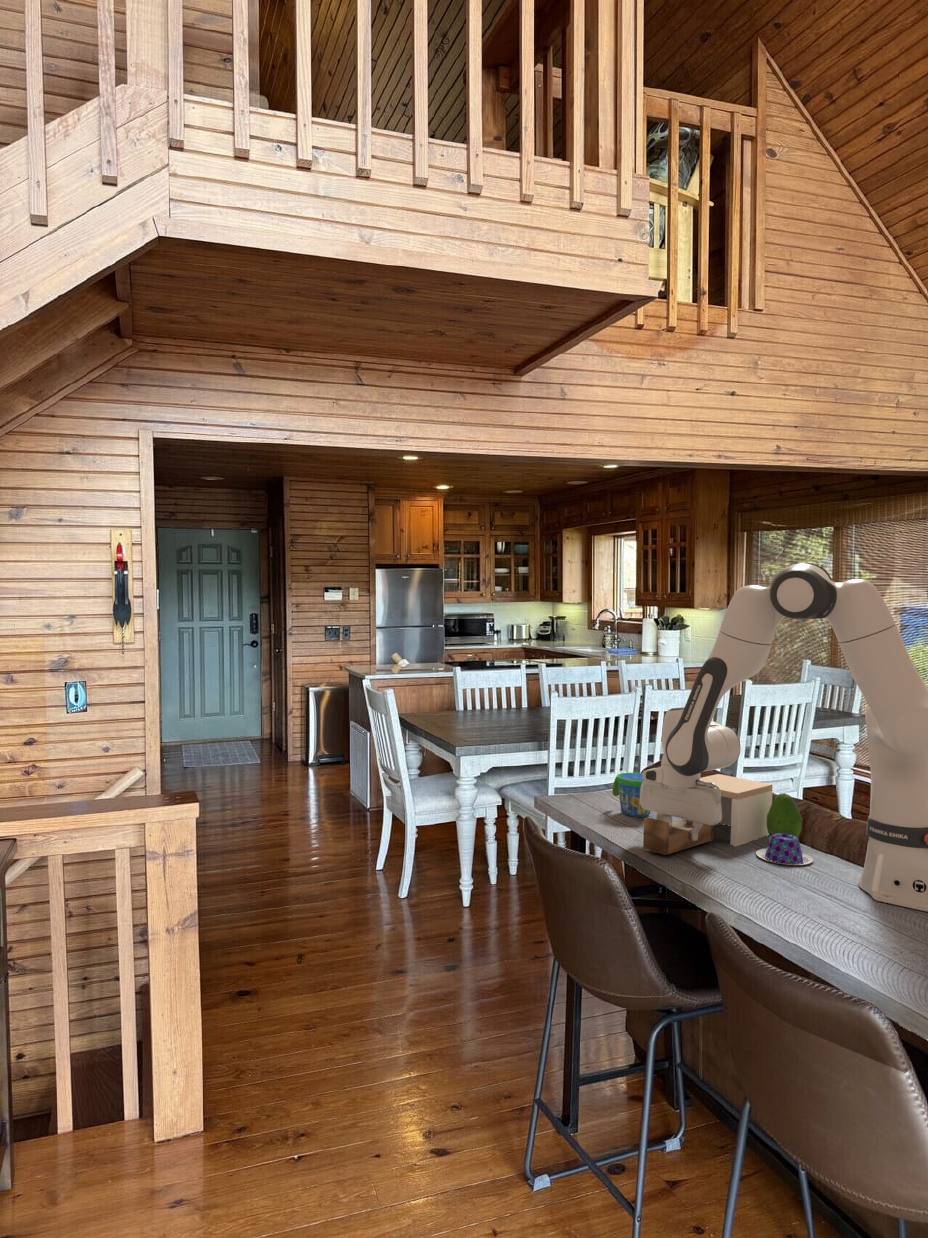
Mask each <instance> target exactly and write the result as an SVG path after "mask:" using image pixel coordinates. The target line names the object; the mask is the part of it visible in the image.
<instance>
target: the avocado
mask: <svg viewBox="0 0 928 1238" xmlns="http://www.w3.org/2000/svg"><path fill="white" fill-rule="evenodd" d="M766 825H767V830H768V833H769V836H770V837H771V836H772V835H773V834H779V833H782V834H790V835H792V836H796V837H797V838H798V837H799V836H800V834H801V831H802V829H803V818H802V815H801V812H800V809H799V807H798V806H797V803H796V802H795V799H794V798H793V797H792V796H791V795H789V794H787V793H785V792H784V793H779V794H777V795H775V797H774V798H773V799H772V805H771V807H770V810H769V812H768V814H767V822H766Z"/></svg>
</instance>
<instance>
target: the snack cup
mask: <svg viewBox="0 0 928 1238" xmlns="http://www.w3.org/2000/svg"><path fill="white" fill-rule="evenodd" d="M642 773H643V772H622V773H618V774H617V775H616V777H615V778H614V781H613V784H612V792H611V793H612V795H613V796H614V797H618V796H619V804H620V813H621V814H623V815H626V816H630V817H633V818H634V817H636V818H645V817H648V816H649V815H650V814H651V811H650V810H646V809H643V808H642V807H641V805H640V789H641V784H642V782H643V781H644V779H643V777H642Z"/></svg>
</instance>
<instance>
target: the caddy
mask: <svg viewBox="0 0 928 1238" xmlns="http://www.w3.org/2000/svg"><path fill="white" fill-rule="evenodd" d="M694 827H695V826H693V821H691V820H687V819H686V820H682V819H681V820H679V821H675V822H673V816H671V815H667V814H658V815H657V814H656V819H655V818H651V817H648V816H646V817H643V843H642V848H643V849H644V850H647V851H650V852H654V853H658V854H659V855H664V856H667V855H670V854H673V853H676V852H677V853H678V852H679V851H682V850H686V849H689V848H692V847H696V846H699V845H701V844H702V845H703V844H705V843H708V842H712V841H714V830H715V829H714V827H715V825H707V824H703V826H702V828H701V829H700V831H699V832H698V839H697V840H695V841H693V840H690V839H688V836H689V835H688V832H690V831H692V830H693V829H694Z"/></svg>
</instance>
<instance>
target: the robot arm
mask: <svg viewBox="0 0 928 1238" xmlns="http://www.w3.org/2000/svg"><path fill="white" fill-rule="evenodd" d="M785 618H787V619H791V620H798V621H802V620H803V621H804V620H818V619H819V620H823V619H826V620H827V621H828V623H829V624H830V626H831V628H832V630H833V632H834V634H835V637H836V639H837V640H836V641H837V642H838V645H839V647H840V650H841V652H842V655H843V657H844V660H845V663H846V664H847V667H848V670H849V671H850V673H851V677H852V679H853V681H854V682H855V684H856V685H857V687H858V689H859V690H860V693H861V695H862V696H863V698H864V699H865V702H866V704H867V707H866V710H865V714H864V715H865V716H864V719H865V724H866V737H867V750H868V751H867V752H868V761H869V769H870V804H869V815H868V816H867V823H866V829H865V831H866V835H865V836H866V843H867V849H866V854H865V855H866V856H865V861H864V865H863V869H862V871H861V872H862V873H861V876H860V879H859V881H858V887H859V888H860V889H862V890H863V891H864V892H867V893H868V894H869V895H870V896H871V897H872V899H873V900H875V901H878V902H881V903H882V902H883V903H886V904H887V903H888V904H891V905H895V906H900V907H905V908H909V909H914V910H919V911H923V912H927V913H928V688H927V686H926V684H925V682H924V681H923V678H922V677H921V675H920V674H919V672H918V671H917V669H916V667H915V665H914V663H913V661H912V659H911V658H910V654H909V653H908V650H907V647H906V646H905V643H904V640H903V637H902V636H901V633H900V631H899V629H898V626H897V624H896V622H895V619H894V617H893V615H892V613H891V610H890V609H889V607H888V605H887V603H886V601H885V600H884V598H883V596H882V595H881V593H880V592H879V591H878V589H877V587H876V586H875V585H874V584H873V583H872V582H870V581H869V580H866V579H861V578H860V579H859V578H858V579H855V578H853V579H848V580H846V581H842V582H841V581H840V582H835V581H833V579H832V577H831V575H830V574H829V572H828V571H827V570H826V569H825V568H823V567H822V566H820V565H818V564H815V563H810V562H803V563H801V562H800V563H794V564H792V565H789V566H787V567H786V568H783V569H782V570H781V571H780V572H779V573H778V574H776V575H775V577H774V578H773V580H772V582H771V584H770V586H761V585H757V584H749V585H744V586H742V587H739V588H737V590H736V591H735V592H734V594H733V595H732V597H731V599H730V601H729V604H728V606H727V609H726V610H725V612H724V615H723V619H722V621H721V625H720V628H719V630H718V631H719V632H718V634H717V637H716V641H715V642H714V645H713V648H712V649H711V651H710V653H709V656H708V657H707V659H706V660H705V662H704V663H703V665H702V667H701V668H700V670H699V672H698V674H697V676H696V678H695V680H694V682H693V685H692V687H691V690H690V693H689V695H688V698H687V701H686V702H685V705H684V706H681V707H673V708H670V709H668V710H667V711H666V712H665V714H664V718H663V721H662V731H661V746H662V750H663V751H662V752H663V753H662V756H661V762H660V763H661V764H660V766H656V767H653V768H649V769H645V770H643V771H642V772H641V773H642V777H643V779H644V781H643V782H642V784H641V789H640V805H641V807H642V808H643V809H646V810H650V812H654V813H656V816H657V815H658V814H667V815H671V816H672V817H674V818H679V819H682V818H683V819H687V820H691V821H693V826H695V827H694V829H693V830H692V831H690V832H688V835H689V836H688V839H690V840H693V841H695V840H697V839H698V832H699V831H700V829H701V828H702V826H703V824H707V825H714V826H717V825H720V824H719V823H720V822H721V820H722V807H721V790H720V789H719V787H718V786H716V785H715V784H714V783H711V782H705V781H701V780H700V778H701V774H702V773H704V772H710V771H715V770H718V769H719V770H720V769H724V768H727V767H730V766H733V765H734V764H735V763H737V761H738V760H739V758H740V755H741V742H740V739H739V738H740V737H738V734H737V733H736V732H735V731H734V729H732V728H731V727H729V726H726V725H723V724H720V723H718V722H716V721H714V720H713V719H714V716H715V715H716V712H717V709H718V706H719V704H720V701H721V700H722V699H723V697H724V695H725V694H726V693H728V692H729V691H731V690H732V688H733V687H736V686H737V685H739V684H740V683H743V682H744V681H746V680H748V679H750V678H752V677H754V676H756V675H757V674H758V673H759V672H760V671H761V670H762V669H763V667H764V665H765V663H766V662H767V660H768V658H769V655H770V652H771V648H772V644H773V642H774V638H775V634H776V631H777V629H778V626H779V625H780V623H781V621H782V620H783V619H785ZM715 787H716V788H715ZM716 824H717V825H716Z"/></svg>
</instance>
